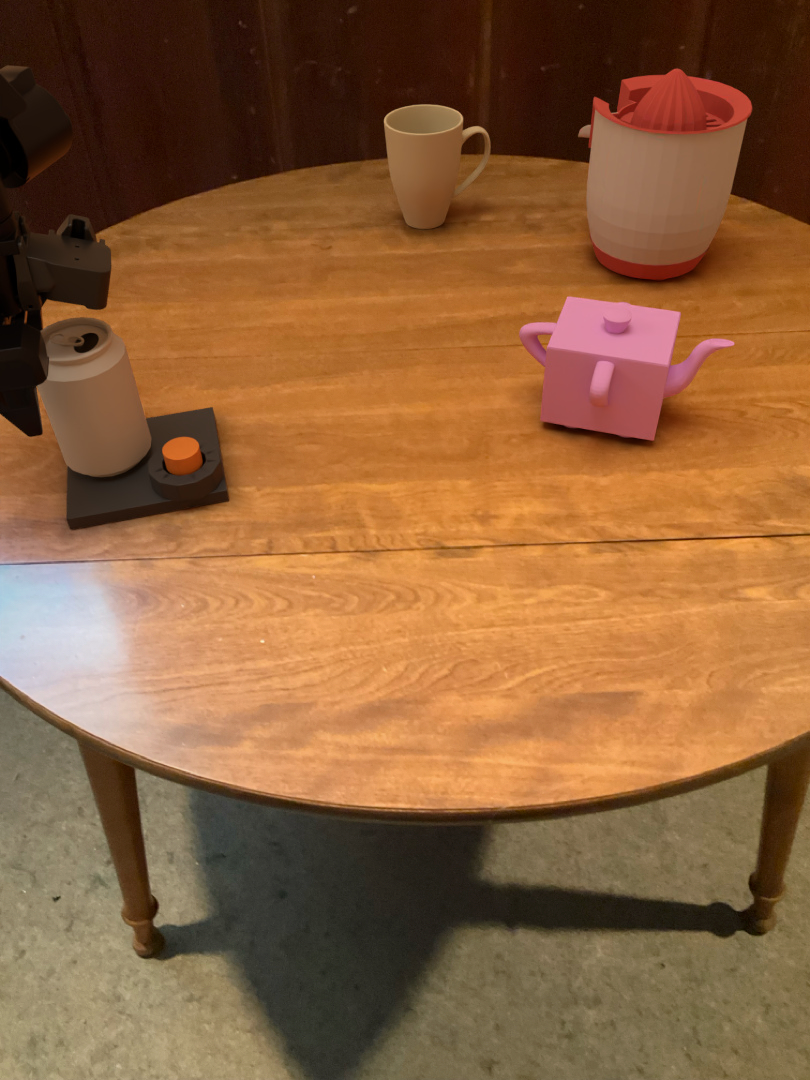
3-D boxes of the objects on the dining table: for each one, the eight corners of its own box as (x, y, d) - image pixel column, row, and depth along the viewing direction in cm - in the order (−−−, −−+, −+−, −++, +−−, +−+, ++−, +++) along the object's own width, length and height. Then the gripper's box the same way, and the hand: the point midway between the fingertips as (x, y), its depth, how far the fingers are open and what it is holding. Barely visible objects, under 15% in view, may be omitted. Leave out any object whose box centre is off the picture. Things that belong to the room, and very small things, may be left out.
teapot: (719, 388, 87) (743, 291, 80) (704, 482, 77) (730, 381, 70) (530, 358, 91) (538, 264, 84) (495, 444, 82) (500, 345, 75)
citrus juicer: (606, 209, 114) (629, 31, 99) (740, 248, 106) (786, 60, 92) (537, 260, 105) (551, 73, 91) (678, 307, 97) (717, 109, 83)
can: (143, 483, 78) (107, 362, 69) (55, 484, 78) (8, 363, 69) (161, 428, 83) (129, 309, 74) (79, 429, 83) (38, 311, 75)
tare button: (167, 479, 76) (163, 462, 74) (165, 456, 78) (161, 440, 77) (204, 472, 76) (200, 455, 75) (201, 450, 78) (197, 433, 77)
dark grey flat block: (70, 533, 75) (59, 506, 73) (71, 441, 84) (61, 415, 82) (229, 504, 77) (223, 477, 75) (214, 417, 86) (209, 390, 84)
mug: (437, 246, 108) (437, 142, 100) (373, 223, 113) (367, 122, 104) (491, 212, 114) (495, 111, 106) (428, 192, 119) (427, 93, 110)
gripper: (88, 263, 59) (143, 454, 70) (89, 151, 72) (135, 327, 83) (-96, 288, 57) (-10, 480, 68) (-61, 169, 70) (6, 346, 81)
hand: (38, 401), depth 75 cm, fingers open, 9 cm apart
